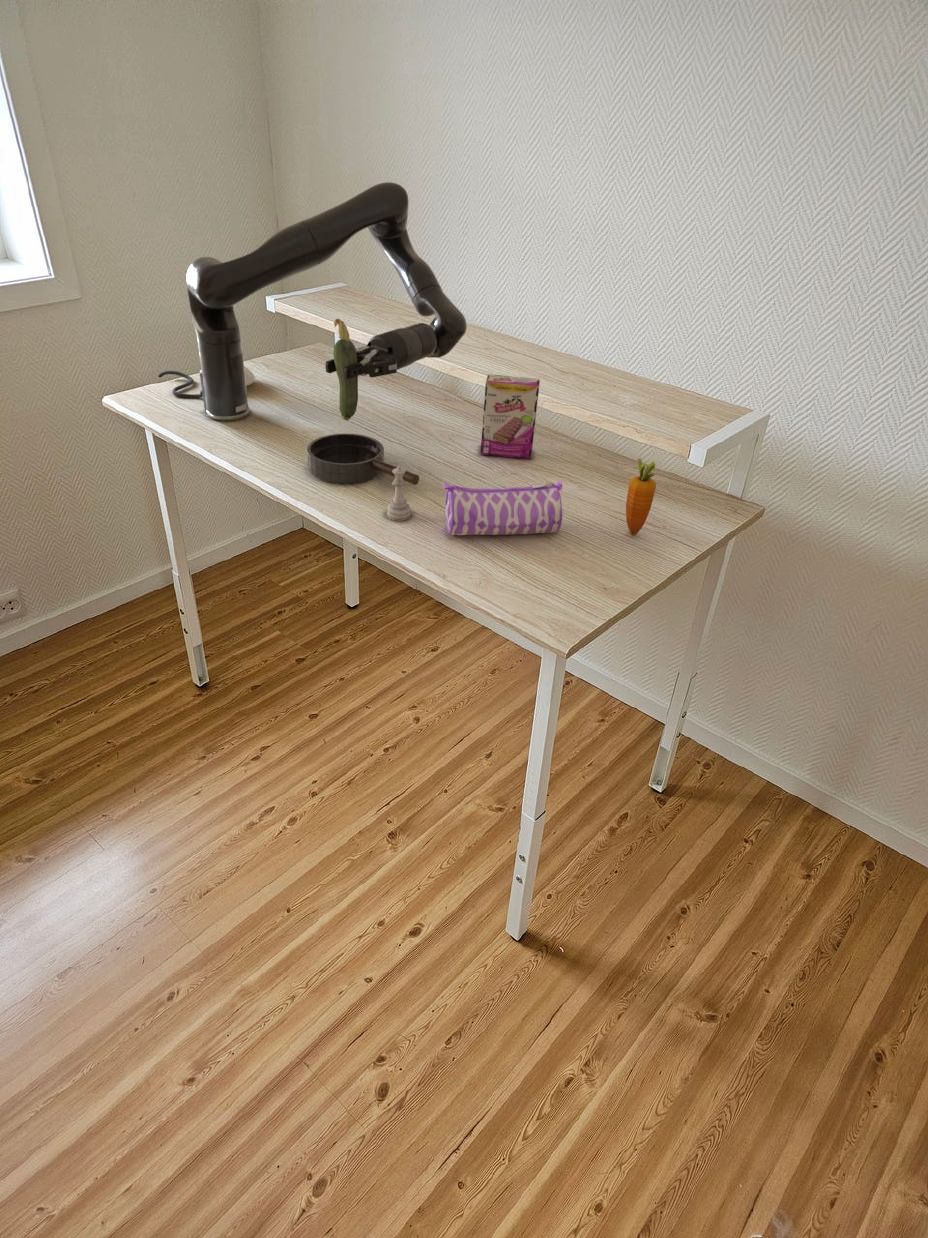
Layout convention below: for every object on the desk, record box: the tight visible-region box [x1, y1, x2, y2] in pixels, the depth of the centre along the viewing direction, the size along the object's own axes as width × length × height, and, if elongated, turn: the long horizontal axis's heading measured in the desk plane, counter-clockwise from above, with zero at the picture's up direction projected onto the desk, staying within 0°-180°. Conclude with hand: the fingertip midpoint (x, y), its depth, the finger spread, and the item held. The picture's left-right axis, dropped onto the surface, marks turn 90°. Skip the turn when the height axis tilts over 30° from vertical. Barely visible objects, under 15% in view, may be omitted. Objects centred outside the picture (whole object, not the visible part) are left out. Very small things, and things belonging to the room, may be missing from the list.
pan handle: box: [371, 459, 420, 486], centre depth 162 cm, size 11×2×2 cm, turn 53°
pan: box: [306, 432, 385, 485], centre depth 169 cm, size 15×15×4 cm
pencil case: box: [442, 480, 563, 536], centre depth 149 cm, size 22×9×10 cm, turn 102°
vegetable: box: [333, 318, 359, 422], centre depth 159 cm, size 4×4×20 cm
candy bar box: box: [480, 373, 541, 460], centre depth 175 cm, size 11×5×16 cm, turn 84°
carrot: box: [625, 457, 657, 536], centre depth 148 cm, size 5×5×15 cm
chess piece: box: [386, 465, 412, 522], centre depth 152 cm, size 4×4×10 cm
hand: (336, 370), depth 157 cm, fingers closed on vegetable, 4 cm apart
